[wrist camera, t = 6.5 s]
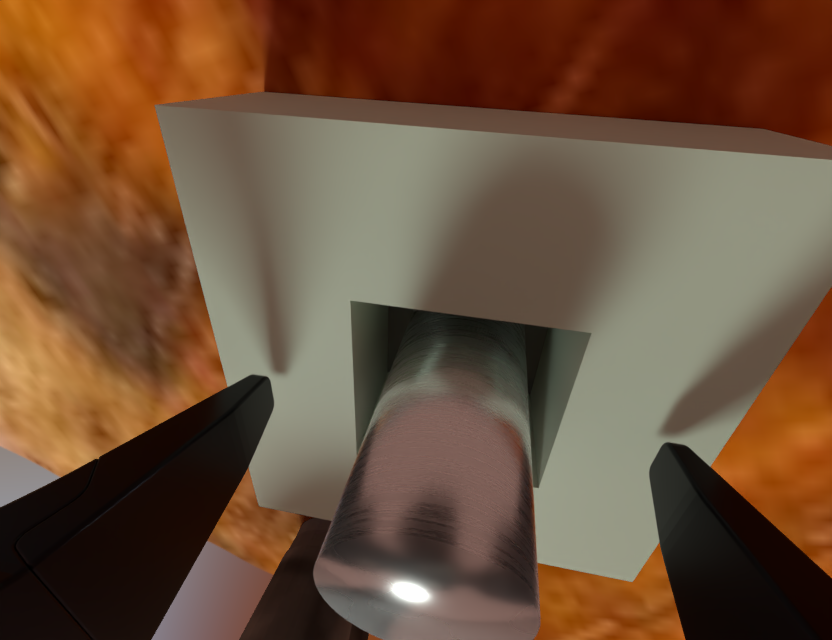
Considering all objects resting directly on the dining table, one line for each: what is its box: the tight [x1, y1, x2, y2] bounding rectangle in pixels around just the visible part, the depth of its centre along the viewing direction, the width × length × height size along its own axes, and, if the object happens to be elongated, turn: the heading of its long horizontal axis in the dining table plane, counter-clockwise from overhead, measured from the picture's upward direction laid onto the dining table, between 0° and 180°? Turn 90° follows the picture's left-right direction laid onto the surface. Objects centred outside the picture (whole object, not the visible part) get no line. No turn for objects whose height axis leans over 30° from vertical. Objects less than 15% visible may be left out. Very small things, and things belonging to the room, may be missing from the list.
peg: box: [313, 309, 540, 640], centre depth 10 cm, size 4×4×8 cm
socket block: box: [155, 92, 832, 582], centre depth 12 cm, size 12×12×4 cm
